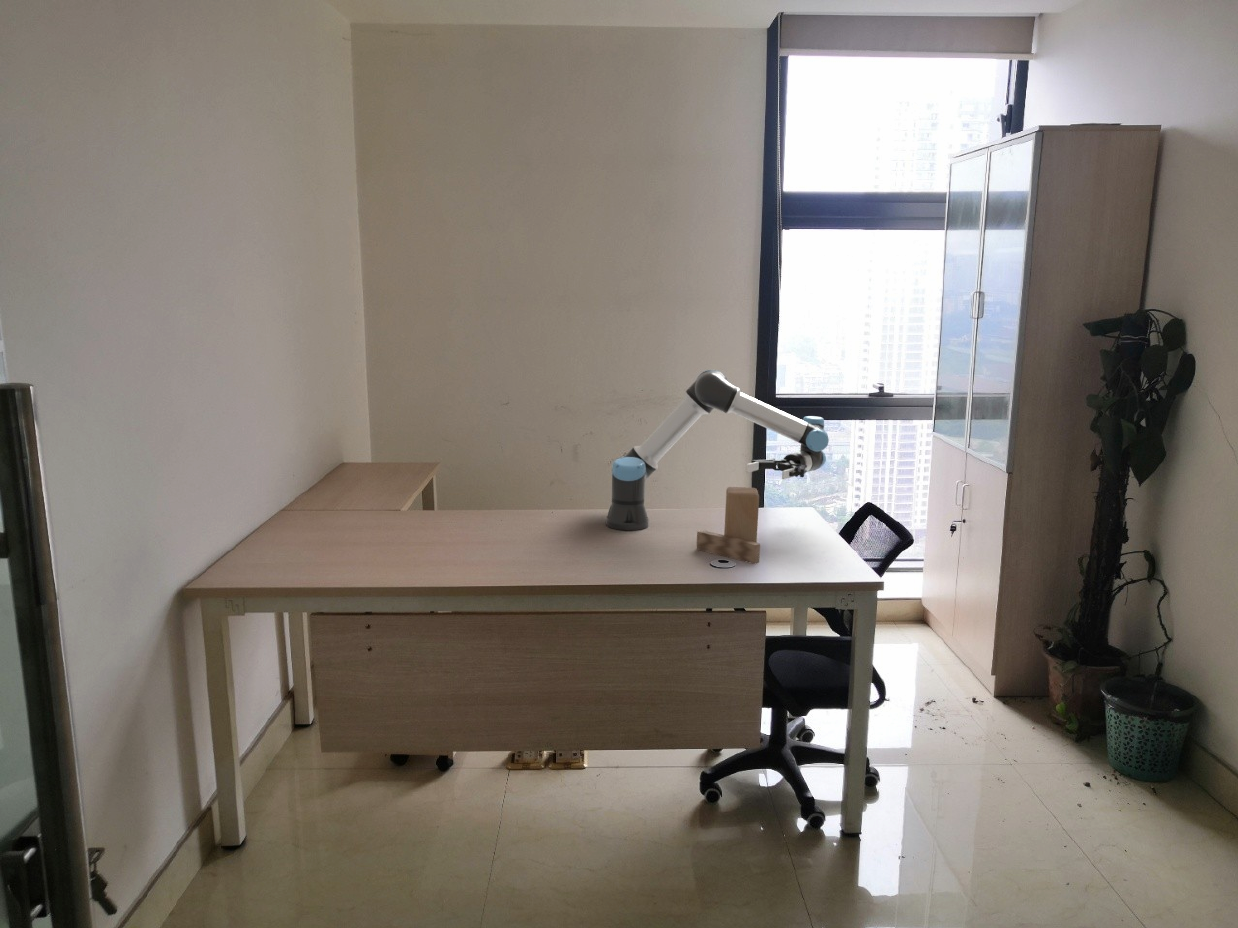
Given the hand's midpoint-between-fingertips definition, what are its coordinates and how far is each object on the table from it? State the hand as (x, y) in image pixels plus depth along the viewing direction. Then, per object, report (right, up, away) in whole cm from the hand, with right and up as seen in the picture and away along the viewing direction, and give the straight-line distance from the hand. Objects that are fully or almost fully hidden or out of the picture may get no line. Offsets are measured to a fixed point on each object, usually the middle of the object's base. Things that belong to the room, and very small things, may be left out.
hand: (764, 471), depth 296 cm
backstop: (-14, -27, -12) cm, 32 cm away
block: (-9, -26, -5) cm, 28 cm away
